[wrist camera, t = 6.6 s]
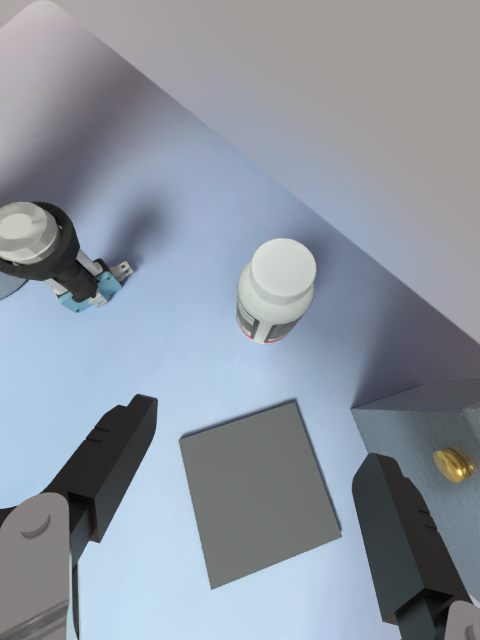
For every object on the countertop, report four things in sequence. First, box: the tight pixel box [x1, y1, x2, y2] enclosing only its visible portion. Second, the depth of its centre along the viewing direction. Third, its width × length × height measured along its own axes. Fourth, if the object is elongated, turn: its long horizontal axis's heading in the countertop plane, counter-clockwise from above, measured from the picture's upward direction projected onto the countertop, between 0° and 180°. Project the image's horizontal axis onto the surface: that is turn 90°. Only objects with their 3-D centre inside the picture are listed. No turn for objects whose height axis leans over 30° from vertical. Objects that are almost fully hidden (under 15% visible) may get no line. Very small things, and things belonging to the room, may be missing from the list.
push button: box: [0, 202, 133, 313], centre depth 21 cm, size 7×5×10 cm
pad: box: [179, 402, 342, 590], centre depth 21 cm, size 10×10×1 cm
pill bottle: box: [236, 238, 316, 344], centre depth 20 cm, size 5×5×10 cm
